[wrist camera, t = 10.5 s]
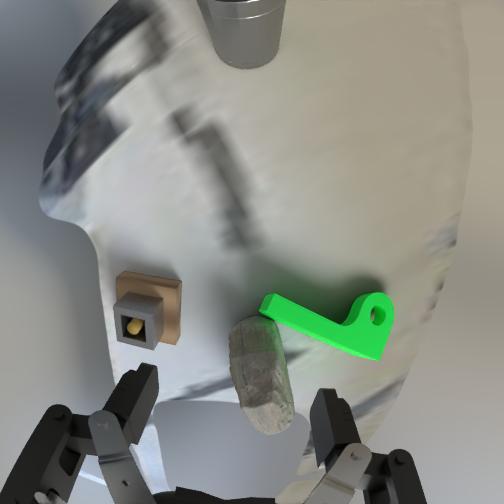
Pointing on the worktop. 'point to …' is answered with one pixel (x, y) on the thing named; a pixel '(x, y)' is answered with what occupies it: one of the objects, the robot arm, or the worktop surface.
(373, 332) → the bracket
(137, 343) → the link
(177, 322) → the keeper
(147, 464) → the worktop surface
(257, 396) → the stone
